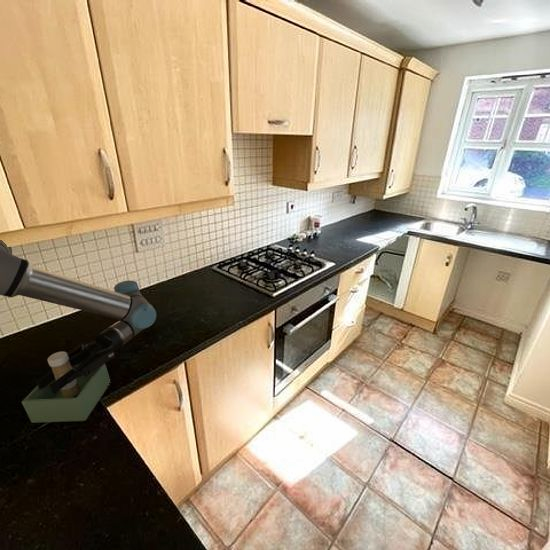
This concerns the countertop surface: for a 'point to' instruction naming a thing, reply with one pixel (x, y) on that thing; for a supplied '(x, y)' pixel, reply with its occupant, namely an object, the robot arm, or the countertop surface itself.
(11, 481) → the countertop surface
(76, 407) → the bin
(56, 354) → the sprinkles bottle
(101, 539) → the countertop surface
